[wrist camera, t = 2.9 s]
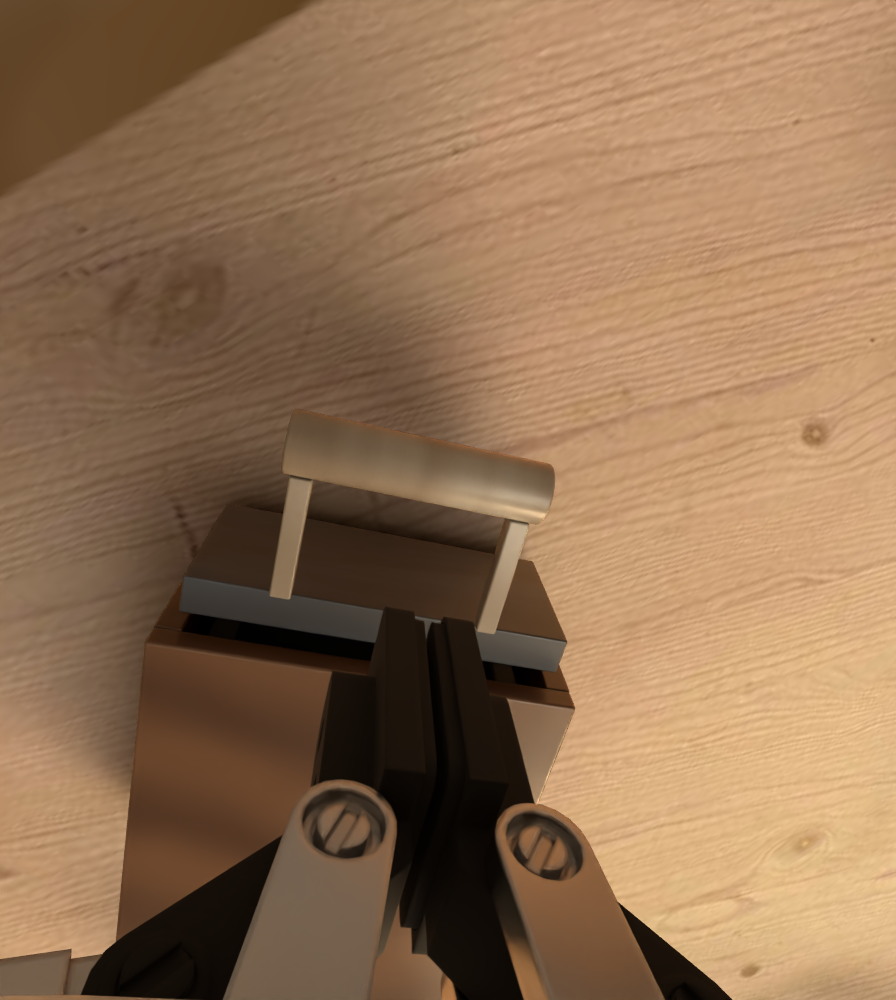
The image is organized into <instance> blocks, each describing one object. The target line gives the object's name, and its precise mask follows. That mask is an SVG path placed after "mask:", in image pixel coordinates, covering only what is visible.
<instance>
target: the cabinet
mask: <svg viewBox="0 0 896 1000" xmlns="http://www.w3.org/2000/svg"><path fill="white" fill-rule="evenodd" d="M182 582H183V579H182V581H181V583H180V584H179V586H178V588H177V589H176V591H175V593H174V594H173V596H172V598H171V599H170V601H169V603H168V604H167V606H166V608H165V609H164V611H163V613H162V614H161V616H160V618H159V619H158V621H157V623H156V624H155V626H154V629H153V630H152V632H151V633H150V635H149V637H148V638H147V640H146V642H145V645H144V655H143V665H142V676H141V686H140V696H139V707H138V717H137V727H136V738H135V748H134V758H133V769H132V779H131V789H130V799H129V810H128V820H127V830H126V841H125V851H124V861H123V872H122V882H121V892H120V903H119V913H118V923H117V933H116V942H117V941H118V940H119V939H120V938H122V937H123V936H124V935H126V934H127V933H129V932H130V931H132V930H133V929H135V928H137V927H138V926H140V925H141V924H143V923H144V922H146V921H148V920H149V919H151V918H152V917H154V916H156V915H157V914H159V913H160V912H162V911H163V910H165V909H167V908H168V907H170V906H171V905H173V904H174V903H176V902H178V901H179V900H181V899H182V898H184V897H185V896H187V895H189V894H190V893H192V892H193V891H195V890H196V889H198V888H200V887H201V886H203V885H204V884H206V883H207V882H209V881H211V880H212V879H214V878H215V877H217V876H218V875H220V874H222V873H223V872H225V871H226V870H228V869H229V868H231V867H233V866H234V865H236V864H237V863H239V862H241V861H242V860H244V859H245V858H247V857H248V856H250V855H252V854H253V853H255V852H256V851H258V850H259V849H261V848H263V847H264V846H266V845H267V844H269V843H270V842H272V841H274V840H275V839H277V838H278V837H280V836H281V835H283V833H284V830H285V828H286V825H287V822H288V819H289V817H290V814H291V811H292V808H293V807H294V805H295V803H296V802H297V800H298V798H299V797H300V796H301V795H302V794H303V793H304V792H305V791H307V790H308V789H309V788H310V786H311V780H312V773H313V766H314V759H315V752H316V746H317V740H318V734H319V729H320V723H321V718H322V713H323V708H324V704H325V699H326V695H327V690H328V686H329V681H330V677H331V674H332V671H340V672H346V673H353V674H359V675H366V676H367V674H368V670H369V666H370V662H371V661H366V660H359V659H353V658H347V657H340V656H334V655H328V654H321V653H315V652H309V651H302V650H296V649H289V648H283V647H277V646H270V645H264V644H258V643H251V642H245V641H239V640H232V639H226V638H220V637H213V636H208V634H209V632H210V629H211V627H212V625H213V623H214V621H215V618H216V617H210V616H204V615H197V614H191V613H185V612H180V610H179V607H180V599H181V590H182ZM511 666H512V665H511ZM512 669H513V673H514V676H515V680H516V684H512V683H505V682H499V681H493V680H486V681H487V686H488V691H489V694H490V695H497V696H503V697H505V698H506V699H507V701H508V703H509V706H510V710H511V714H512V718H513V721H514V725H515V729H516V733H517V737H518V741H519V745H520V749H521V753H522V756H523V760H524V764H525V768H526V772H527V776H528V780H529V784H530V787H531V791H532V795H533V799H534V803H535V804H538V802H539V800H540V797H541V795H542V792H543V789H544V787H545V784H546V782H547V779H548V777H549V774H550V772H551V769H552V767H553V764H554V762H555V759H556V757H557V754H558V751H559V749H560V746H561V744H562V741H563V739H564V736H565V734H566V731H567V729H568V726H569V724H570V721H571V719H572V716H573V713H574V711H575V706H574V703H573V701H572V698H571V696H570V694H569V689H568V687H567V684H566V681H565V679H564V676H563V674H562V671H561V669H560V666H558V668H557V671H556V672H548V671H542V670H536V669H530V668H524V667H518V666H512ZM441 976H442V971H441V970H440V968H439V967H438V966H437V965H436V964H435V963H434V962H433V961H432V960H431V959H430V958H429V957H428V956H427V955H422V954H412V942H411V928H402V927H401V926H400V919H399V905H398V908H397V911H396V915H395V918H394V921H393V924H392V927H391V931H390V934H389V937H388V940H387V943H386V947H385V950H384V952H383V953H382V954H381V955H380V956H379V957H378V958H377V959H376V965H375V971H374V977H373V983H372V989H371V996H370V1000H442V999H441V986H440V980H441Z"/></svg>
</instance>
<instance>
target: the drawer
mask: <svg viewBox="0 0 896 1000" xmlns="http://www.w3.org/2000/svg"><path fill="white" fill-rule="evenodd" d="M282 472H283V473H284V474H288V475H290V477H289V481H288V487H287V493H286V498H285V504H284V510H283V514H281V513H276V512H271V511H265V510H260V509H255V508H250V507H244V506H239V505H234V504H227V505H226V506H225V508H224V510H223V511H222V513H221V515H220V516H219V518H218V520H217V521H216V523H215V525H214V526H213V528H212V530H211V531H210V533H209V535H208V536H207V538H206V540H205V541H204V543H203V544H202V546H201V548H200V549H199V551H198V553H197V554H196V556H195V558H194V559H193V561H192V563H191V564H190V566H189V568H188V569H187V571H186V573H185V574H184V576H183V582H182V590H181V599H180V607H179V610H180V612H185V613H191V614H197V615H204V616H210V617H216V618H215V621H214V623H213V625H212V627H211V629H210V632H209V634H208V636H213V637H220V638H226V639H232V640H239V641H245V642H251V643H258V644H264V645H270V646H277V647H283V648H289V649H296V650H302V651H309V652H315V653H321V654H328V655H334V656H340V657H347V658H353V659H359V660H366V661H371V658H372V654H373V650H374V646H375V642H376V638H377V634H378V630H379V626H380V622H381V618H382V614H383V610H384V608H385V606H386V607H392V608H398V609H404V610H410V611H414V613H415V619H416V620H422V621H424V624H425V635H426V638H427V634H428V630H429V627H430V625H431V623H432V622H434V623H441V620H442V618H443V617H444V616H445V617H450V618H456V619H462V620H468V621H472V622H473V623H474V627H475V631H476V636H477V641H478V645H479V650H480V654H481V659H482V663H483V668H484V672H485V677H486V680H493V681H499V682H505V683H512V684H516V680H515V676H514V673H513V669H512V666H518V667H524V668H530V669H536V670H542V671H548V672H556V671H557V668H558V666H559V663H560V660H561V658H562V655H563V652H564V649H565V647H566V644H567V640H566V638H565V635H564V633H563V631H562V628H561V626H560V624H559V621H558V619H557V617H556V614H555V612H554V610H553V607H552V605H551V603H550V600H549V598H548V596H547V593H546V591H545V589H544V587H543V584H542V582H541V580H540V577H539V575H538V573H537V570H536V568H535V566H534V563H533V562H532V561H527V560H522V559H519V557H520V554H521V551H522V548H523V545H524V542H525V538H526V535H527V532H528V529H529V523H531V524H540V523H541V522H542V521H543V520H544V519H545V517H546V515H547V513H548V511H549V509H550V506H551V503H552V499H553V495H554V488H555V473H554V469H553V467H552V466H551V465H550V464H547V463H543V462H538V461H533V460H529V459H524V458H520V457H515V456H511V455H506V454H501V453H497V452H492V451H488V450H483V449H478V448H474V447H469V446H465V445H460V444H456V443H451V442H446V441H442V440H437V439H433V438H428V437H424V436H419V435H414V434H410V433H405V432H401V431H396V430H392V429H387V428H382V427H378V426H373V425H369V424H364V423H360V422H355V421H350V420H346V419H341V418H337V417H332V416H327V415H323V414H318V413H314V412H309V411H305V410H300V409H295V410H294V411H293V413H292V416H291V419H290V422H289V426H288V430H287V435H286V439H285V445H284V450H283V457H282ZM313 480H318V481H323V482H328V483H333V484H338V485H343V486H348V487H353V488H358V489H362V490H367V491H372V492H377V493H382V494H387V495H392V496H397V497H402V498H407V499H412V500H417V501H422V502H427V503H432V504H437V505H442V506H447V507H452V508H457V509H462V510H467V511H472V512H477V513H482V514H487V515H492V516H497V517H502V518H505V521H504V524H503V527H502V531H501V534H500V537H499V540H498V544H497V547H496V550H495V553H494V554H490V553H485V552H480V551H475V550H469V549H464V548H459V547H454V546H448V545H443V544H438V543H433V542H427V541H422V540H417V539H412V538H407V537H401V536H396V535H391V534H386V533H380V532H375V531H370V530H365V529H360V528H354V527H349V526H344V525H339V524H333V523H328V522H323V521H318V520H312V519H307V518H306V517H307V512H308V506H309V501H310V496H311V490H312V485H313ZM511 665H512V666H511Z"/></svg>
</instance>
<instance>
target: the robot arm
mask: <svg viewBox="0 0 896 1000" xmlns="http://www.w3.org/2000/svg"><path fill="white" fill-rule="evenodd" d="M398 905H399V919H400V926H401V927H402V928H411V942H412V954H422V955H427V956H428V957H429V958H430V959H431V960H432V961H433V962H434V963H435V964H436V965H437V966H438V967H439V968H440V970H441V971H442V976H441V980H440V986H441V999H442V1000H732V999H731V998H730V997H729V996H728V995H727V994H726V993H725V992H724V991H723V990H722V989H721V988H720V987H719V986H718V985H717V984H716V983H715V982H714V981H712V980H711V979H710V978H709V977H708V976H706V975H705V974H704V973H703V972H702V971H700V970H699V969H698V968H697V967H696V966H694V965H693V964H692V963H691V962H690V961H688V960H687V959H686V958H685V957H684V956H682V955H681V954H680V953H679V952H678V951H676V950H675V949H674V948H673V947H672V946H670V945H669V944H668V943H667V942H665V941H664V940H663V939H662V938H661V937H659V936H658V935H657V934H656V933H655V932H653V931H652V930H651V929H650V928H649V927H647V926H646V925H645V924H644V923H643V922H641V921H640V920H639V919H638V918H637V917H635V916H634V915H633V914H632V913H631V912H629V911H628V910H627V909H626V908H625V907H623V906H622V905H621V904H620V903H619V902H617V900H616V897H615V895H614V893H613V891H612V889H611V887H610V885H609V883H608V881H607V879H606V877H605V875H604V873H603V871H602V869H601V867H600V864H599V862H598V860H597V858H596V856H595V854H594V852H593V850H592V848H591V846H590V844H589V842H588V841H587V839H586V837H585V836H584V834H583V833H582V831H581V830H580V829H579V828H578V827H577V826H576V825H575V824H574V823H573V822H572V821H571V820H570V819H569V818H567V817H566V816H564V815H563V814H561V813H560V812H558V811H556V810H554V809H552V808H549V807H546V806H544V805H541V804H535V803H534V799H533V795H532V791H531V787H530V784H529V780H528V776H527V772H526V768H525V764H524V760H523V756H522V753H521V749H520V745H519V741H518V737H517V733H516V729H515V725H514V721H513V718H512V714H511V710H510V706H509V703H508V701H507V699H506V698H505V697H503V696H497V695H490V694H489V691H488V686H487V681H486V677H485V672H484V668H483V663H482V659H481V654H480V650H479V645H478V641H477V636H476V631H475V627H474V623H473V622H472V621H468V620H462V619H456V618H450V617H445V616H444V617H443V618H442V620H441V623H434V622H432V623H431V625H430V627H429V630H428V634H427V638H426V635H425V624H424V621H422V620H416V619H415V613H414V611H410V610H404V609H398V608H392V607H386V606H385V608H384V610H383V614H382V618H381V622H380V626H379V630H378V634H377V638H376V642H375V646H374V650H373V654H372V658H371V662H370V666H369V670H368V674H367V676H366V675H359V674H353V673H346V672H340V671H332V674H331V677H330V681H329V686H328V690H327V695H326V699H325V704H324V708H323V713H322V718H321V723H320V729H319V734H318V740H317V746H316V752H315V759H314V766H313V773H312V780H311V786H310V788H309V789H308V790H307V791H305V792H304V793H303V794H302V795H301V796H300V797H299V798H298V800H297V802H296V803H295V805H294V807H293V808H292V811H291V814H290V817H289V819H288V822H287V825H286V828H285V830H284V833H283V835H281V836H280V837H278V838H277V839H275V840H274V841H272V842H270V843H269V844H267V845H266V846H264V847H263V848H261V849H259V850H258V851H256V852H255V853H253V854H252V855H250V856H248V857H247V858H245V859H244V860H242V861H241V862H239V863H237V864H236V865H234V866H233V867H231V868H229V869H228V870H226V871H225V872H223V873H222V874H220V875H218V876H217V877H215V878H214V879H212V880H211V881H209V882H207V883H206V884H204V885H203V886H201V887H200V888H198V889H196V890H195V891H193V892H192V893H190V894H189V895H187V896H185V897H184V898H182V899H181V900H179V901H178V902H176V903H174V904H173V905H171V906H170V907H168V908H167V909H165V910H163V911H162V912H160V913H159V914H157V915H156V916H154V917H152V918H151V919H149V920H148V921H146V922H144V923H143V924H141V925H140V926H138V927H137V928H135V929H133V930H132V931H130V932H129V933H127V934H126V935H124V936H123V937H122V938H120V939H119V940H118V941H117V942H115V943H114V944H113V945H112V946H111V947H109V948H108V949H107V950H106V951H105V952H104V953H103V954H100V955H94V956H87V957H80V958H73V959H71V949H68V950H61V951H54V952H47V953H40V954H33V955H26V956H19V957H12V958H6V959H0V1000H370V996H371V989H372V983H373V977H374V971H375V965H376V959H377V958H378V957H379V956H380V955H381V954H382V953H383V952H384V950H385V947H386V943H387V940H388V937H389V934H390V931H391V927H392V924H393V921H394V918H395V915H396V911H397V908H398Z"/></svg>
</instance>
